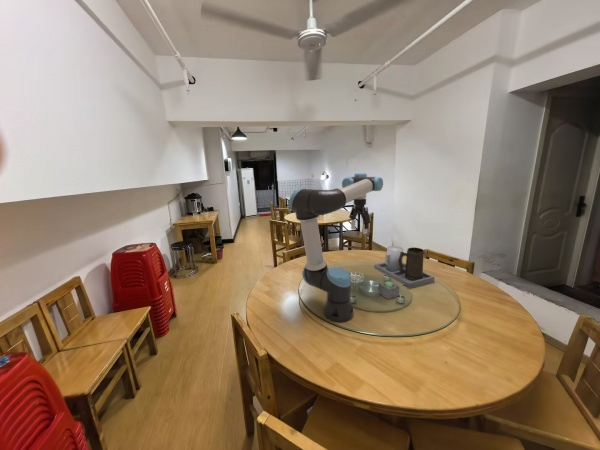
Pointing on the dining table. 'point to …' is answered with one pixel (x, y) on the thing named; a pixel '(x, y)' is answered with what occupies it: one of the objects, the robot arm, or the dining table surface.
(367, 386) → the dining table surface
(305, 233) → the robot arm
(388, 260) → the white piece
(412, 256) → the beer stein
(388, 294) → the grey square hollow block
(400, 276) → the tray
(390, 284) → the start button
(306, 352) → the dining table surface
